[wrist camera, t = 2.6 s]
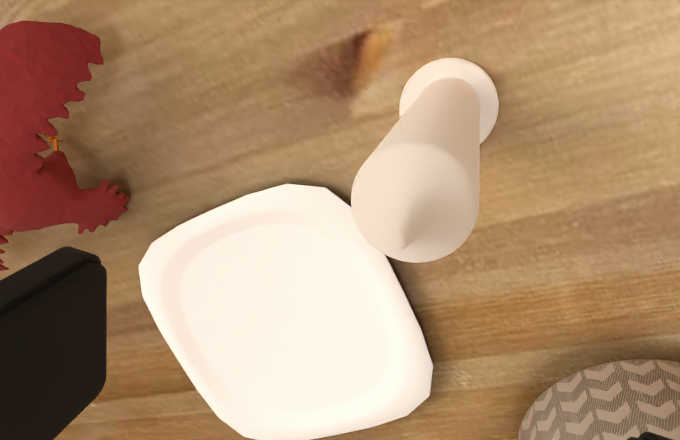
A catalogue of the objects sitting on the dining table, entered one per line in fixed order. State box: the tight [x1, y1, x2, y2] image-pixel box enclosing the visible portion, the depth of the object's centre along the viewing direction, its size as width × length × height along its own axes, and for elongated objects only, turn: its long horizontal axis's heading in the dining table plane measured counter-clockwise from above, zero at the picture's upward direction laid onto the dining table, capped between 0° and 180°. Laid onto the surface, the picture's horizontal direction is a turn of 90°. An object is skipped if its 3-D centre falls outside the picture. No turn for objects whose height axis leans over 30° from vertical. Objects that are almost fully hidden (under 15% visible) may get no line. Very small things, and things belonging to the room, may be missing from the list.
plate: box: [138, 183, 433, 440], centre depth 47 cm, size 25×25×2 cm
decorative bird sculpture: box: [0, 21, 129, 271], centre depth 44 cm, size 28×9×15 cm
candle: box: [351, 58, 499, 263], centre depth 26 cm, size 7×7×25 cm
